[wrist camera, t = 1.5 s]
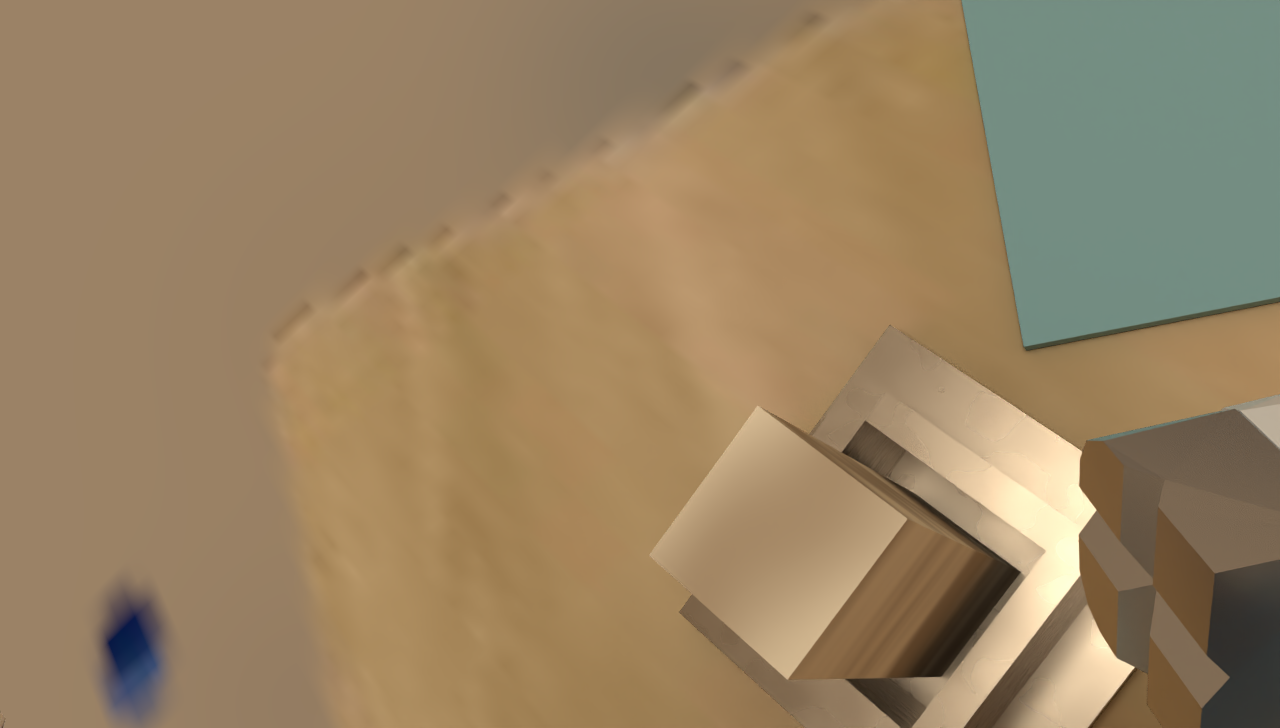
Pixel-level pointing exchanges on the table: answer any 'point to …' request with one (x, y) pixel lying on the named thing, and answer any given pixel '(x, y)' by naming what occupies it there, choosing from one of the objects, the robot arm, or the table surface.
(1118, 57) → the teal mat
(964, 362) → the table surface
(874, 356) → the tan hollow square block
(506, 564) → the table surface
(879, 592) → the maple bar
